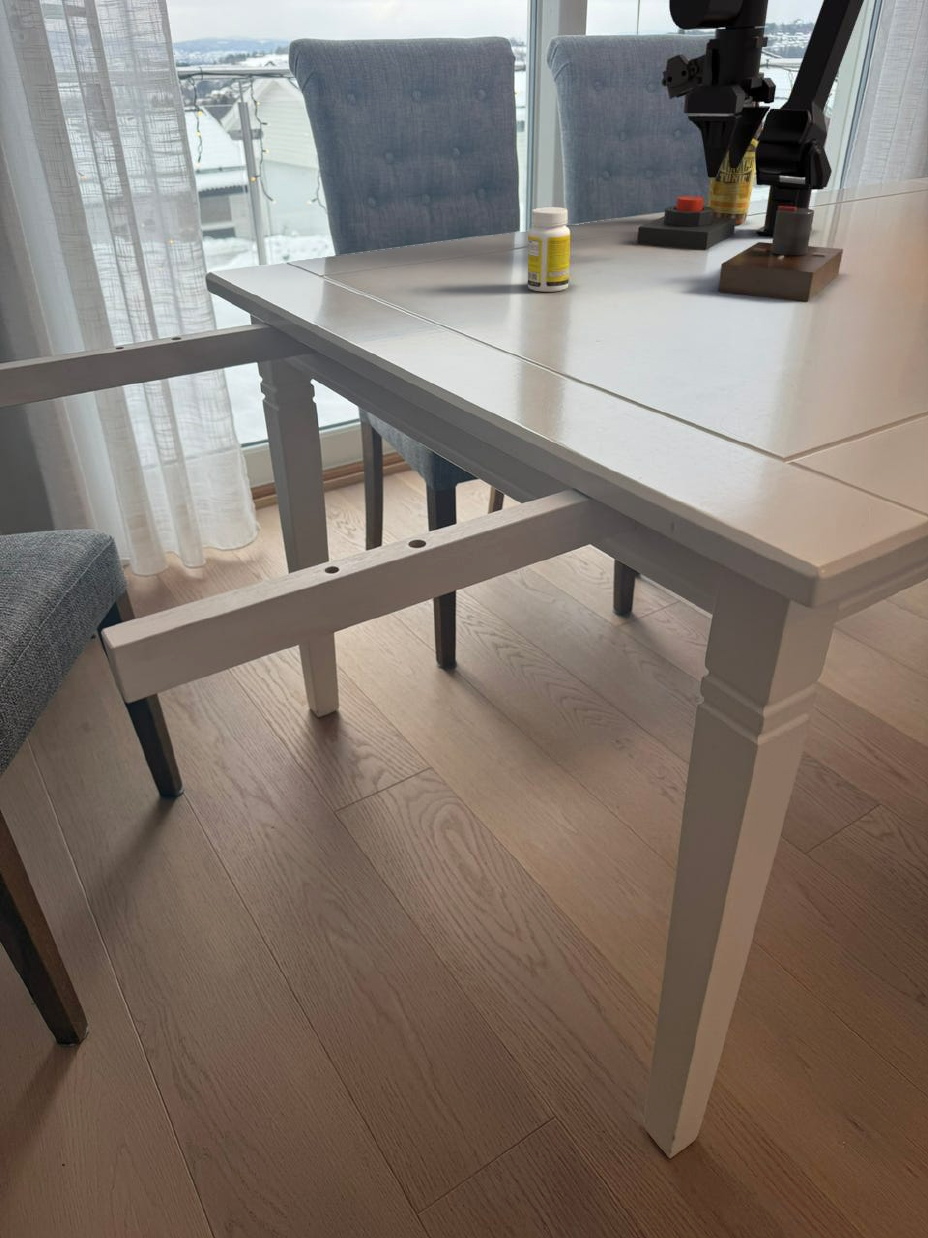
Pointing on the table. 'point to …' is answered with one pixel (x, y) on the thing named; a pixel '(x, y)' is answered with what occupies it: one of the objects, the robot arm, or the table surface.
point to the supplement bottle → (548, 250)
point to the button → (689, 203)
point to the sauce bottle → (734, 185)
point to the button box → (686, 229)
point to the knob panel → (780, 272)
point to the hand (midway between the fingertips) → (723, 172)
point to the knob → (792, 231)
